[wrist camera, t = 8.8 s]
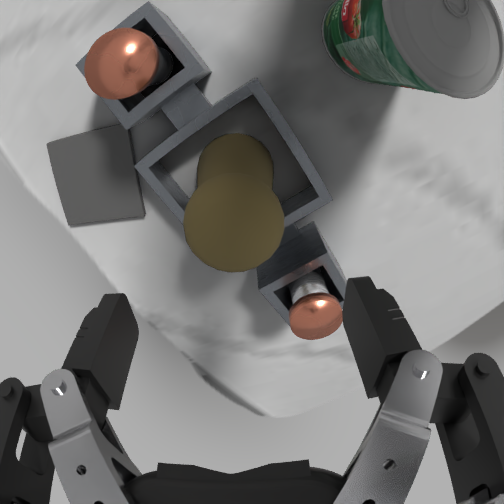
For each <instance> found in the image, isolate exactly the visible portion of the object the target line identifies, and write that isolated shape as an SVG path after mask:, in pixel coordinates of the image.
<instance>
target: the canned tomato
mask: <svg viewBox="0 0 504 504" xmlns="http://www.w3.org/2000/svg"><path fill="white" fill-rule="evenodd" d="M322 38H323V43H324V45H325V48H326V51H327V52H328V54H329V56H330V58H331V59H332V60H333V62H334V63H335V64H336V65H337V66H338V67H339V68H340V69H341V70H342V71H343V72H344V73H346V74H348V75H349V76H351V77H352V78H355V79H357V80H359V81H362V82H366V83H371V84H384V85H392V86H399V87H405V88H412V89H418V90H424V91H429V92H434V93H441V94H445V95H448V96H451V97H454V98H462V99H468V98H475V97H478V96H480V95H482V94H485V93H486V92H487V91H488V90H490V89H491V88H492V87H493V85H494V84H495V83H496V81H497V80H498V78H499V76H500V74H501V71H502V68H503V64H504V33H503V29H502V25H501V21H500V19H499V16H498V14H497V11H496V9H495V7H494V5H493V3H492V2H491V0H336V1H335V2H334V3H333V4H332V5H331V6H330V7H329V8H328V10H327V11H326V13H325V15H324V18H323V22H322Z"/></svg>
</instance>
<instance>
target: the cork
mask: <svg viewBox="0 0 504 504" xmlns="http://www.w3.org/2000/svg"><path fill="white" fill-rule="evenodd" d="M273 174H274V172H273V161H272V158H271V155H270V153H269V151H268V150H267V148H266V147H265V146H264V145H263V144H262V143H261V142H260V141H258V140H257V139H255V138H253V137H252V136H249V135H244V134H240V133H235V134H226V135H223V136H221V137H218V138H216V139H214V140H213V141H212V142H211V143H209V144H208V145H207V146H206V147H205V149H204V150H203V152H202V154H201V155H200V157H199V162H198V167H197V184H198V188H197V189H196V190H195V191H194V193H193V195H192V196H191V198H190V200H189V201H188V203H187V206H186V208H185V213H184V219H183V226H184V231H185V237H186V241H187V243H188V245H189V247H190V248H191V250H192V252H193V253H194V254H195V255H196V256H197V257H198V258H199V259H200V260H201V261H202V262H204V263H205V264H207V265H209V266H211V267H213V268H215V269H217V270H221V271H226V272H244V271H247V270H250V269H253V268H256V267H257V266H259V265H260V264H262V263H263V262H265V261H266V260H268V259H269V258H270V257H271V256H272V255H273V253H274V252H275V251H276V250H277V248H278V247H279V244H280V242H281V239H282V236H283V233H284V213H283V210H282V208H281V205H280V202H279V200H278V197H277V196H276V195H275V193H274V192H273V191H272V186H273Z"/></svg>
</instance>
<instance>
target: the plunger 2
mask: <svg viewBox="0 0 504 504" xmlns="http://www.w3.org/2000/svg"><path fill="white" fill-rule="evenodd" d="M289 289H290V293H291V298H292V303H293V305H292V306H291V308H290V311H289V321H290V327H291V330H292V332H293V333H294V334H295V335H296V336H298V337H300V338H302V339H308V340H315V339H320V338H324V337H326V336H328V335H330V334H332V333H333V332H335V331H336V330H337V329H338V328H339V326H340V325H341V323H342V321H343V318H342V309H341V306H340V303H339V301H338V300H337V298H336V297H334V296H333V295H331V294H329V292H328V289H327V287H326V284H325V281H324V278H323V276H322V273H321V270H320V268H319V267H318V268H316V269H315V270H313V271H311V272H309V273H307V274H305V275H304V276H302V277H300V278H298V279H296V280H294V281H292V282H291V283H289Z"/></svg>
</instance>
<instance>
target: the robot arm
mask: <svg viewBox="0 0 504 504" xmlns="http://www.w3.org/2000/svg"><path fill="white" fill-rule="evenodd" d="M342 318H343V325H344V328H345V331H346V334H347V337H348V340H349V342H350V345H351V348H352V351H353V354H354V357H355V360H356V363H357V366H358V369H359V372H360V375H361V378H362V381H363V384H364V387H365V391H366V394H367V397H368V399H369V398H373V397H379V400H380V403H381V404H380V406H379V408H378V410H377V412H376V414H375V417H374V419H373V421H372V423H371V425H370V427H369V429H368V431H367V433H366V435H365V437H364V439H363V441H362V443H361V445H360V447H359V449H358V450H357V452H356V454H355V456H354V457H353V459H352V461H351V462H350V464H349V466H348V468H347V469H346V471H345V473H344V475H343V476H341V475H339V474H337V473H335V472H332V471H328V470H325V469H320V468H315V467H310V466H309V460H301V461H292V462H283V463H272V464H268V465H264V466H261V467H258V468H254V469H251V470H247V471H243V472H239V473H235V474H227V473H222V472H218V471H214V470H210V469H206V468H202V467H198V466H195V465H181V464H166V463H158V467H157V471H153V472H149V473H146V474H143V475H142V474H141V472H140V471H139V470H138V468H137V467H136V466H135V465H134V463H133V462H132V461H131V460H130V458H129V457H128V455H127V453H126V452H125V450H124V448H123V446H122V445H121V443H120V441H119V439H118V437H117V435H116V433H115V431H114V430H113V427H112V425H111V424H110V422H109V420H108V418H107V417H106V414H107V410H108V409H114V410H119V407H120V404H121V400H122V395H123V392H124V387H125V384H126V380H127V376H128V373H129V369H130V365H131V362H132V358H133V355H134V351H135V348H136V344H137V341H138V335H139V330H138V324H137V322H136V319H135V317H134V314H133V312H132V309H131V306H130V304H129V301H128V299H127V296H126V295H125V294H124V293H119V294H105V295H104V296H103V298H102V300H101V302H100V304H99V306H98V308H93V309H92V310H91V311H90V312H89V313H88V314H87V316H85V318H84V320H83V322H82V324H81V327H80V330H79V331H78V333H77V335H76V338H75V340H74V341H73V344H72V346H71V348H70V350H69V353H68V355H67V357H66V359H65V361H64V364H63V366H62V368H61V369H58V370H54V371H52V372H51V373H49V374H48V375H47V376H46V377H45V378H44V380H43V381H42V384H39V385H33V386H28V387H25V386H24V385H23V384H22V383H21V381H20V380H19V379H17V378H8V379H6V380H4V381H3V382H1V384H0V504H49V501H50V493H51V486H52V481H53V475H54V469H55V468H56V471H57V474H58V476H59V479H60V481H61V483H62V486H63V488H64V491H65V493H66V495H67V498H68V500H69V502H70V504H404V501H405V499H406V497H407V495H408V492H409V490H410V488H411V486H412V484H413V481H414V479H415V476H416V474H417V472H418V469H419V466H420V464H421V461H422V459H423V456H424V453H425V450H426V448H427V445H428V442H429V439H430V435H431V429H429V428H428V425H429V423H435V424H436V428H437V431H438V434H439V437H440V441H441V444H442V448H443V451H444V455H445V458H446V462H447V466H448V469H449V473H450V477H451V481H452V485H453V490H454V494H455V499H456V503H457V504H504V377H503V375H502V373H501V371H500V369H499V367H498V365H497V363H496V362H495V361H494V359H492V358H491V357H490V356H488V355H486V354H483V353H474V354H472V355H470V356H469V357H468V358H467V360H466V361H465V363H464V364H452V363H451V364H450V363H441V362H440V360H439V359H438V358H437V357H436V356H435V355H434V354H432V353H430V352H428V351H425V350H422V348H421V346H420V344H419V343H418V341H417V339H416V337H415V335H414V333H413V331H412V329H411V327H410V326H409V324H408V322H407V320H406V318H404V315H403V313H402V311H401V310H400V309H399V306H398V304H397V302H396V301H395V299H394V297H393V296H392V295H390V294H389V293H388V292H387V291H385V290H384V289H376V287H375V285H374V283H373V281H372V280H371V278H370V277H369V276H366V277H356V278H349V279H348V280H347V285H346V292H345V298H344V304H343V311H342ZM22 429H23V430H24V431H25V432H26V437H25V440H24V444H23V448H22V452H21V456H20V460H19V461H18V460H17V457H16V447H17V443H18V440H19V436H20V433H21V430H22Z"/></svg>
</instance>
